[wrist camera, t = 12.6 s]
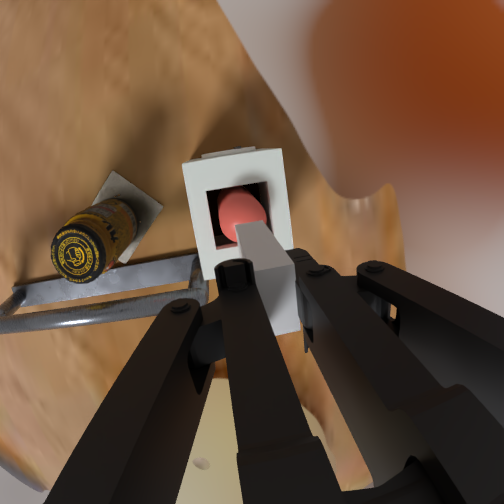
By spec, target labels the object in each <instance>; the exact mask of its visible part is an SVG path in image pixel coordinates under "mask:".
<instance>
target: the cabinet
mask: <svg viewBox="0 0 504 504" xmlns="http://www.w3.org/2000/svg"><path fill="white" fill-rule="evenodd" d="M201 156H202V158H198V159H192V160H189V161H187V162H185V163H183V164H182V168H183V174H184V179H185V185H186V191H187V196H188V202H189V207H190V212H191V218H192V223H193V228H194V233H195V238H196V243H197V248H198V253H199V258H200V263H201V268H202V272H203V277H204V280H210V279H216V277H215V272H214V268H215V266H216V265H217V264H219V263H221V262H223V261H226V260H230V259H236V258H240V256H239V249H238V243H237V242H234V241H232V240H230V239H229V238H228V237H226V236H225V235H219V236H214V233H213V228H212V222H211V217H210V211H209V205H208V199H207V194H206V191H209V190H215V189H221V188H226V187H232V186H239V185H245V184H251V183H258V187H259V194H260V201H261V205H262V207H263V208H264V210H265V213H266V219H267V220H266V226H267V227H268V228H269V230H270V231H271V232H272V234H273V235H274V236H275V238H276V239H277V241H278V242H279V243H280V245H281V246H282V247H283V249H284V250H290V249H293V239H292V230H291V221H290V213H289V204H288V196H287V188H286V180H285V172H284V164H283V157H282V149H281V148H261V149H255V146H252V147H245V148H241V146H238V147H234V149H231V150H225V151H219V152H213V153H207V154H202V155H201Z"/></svg>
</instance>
